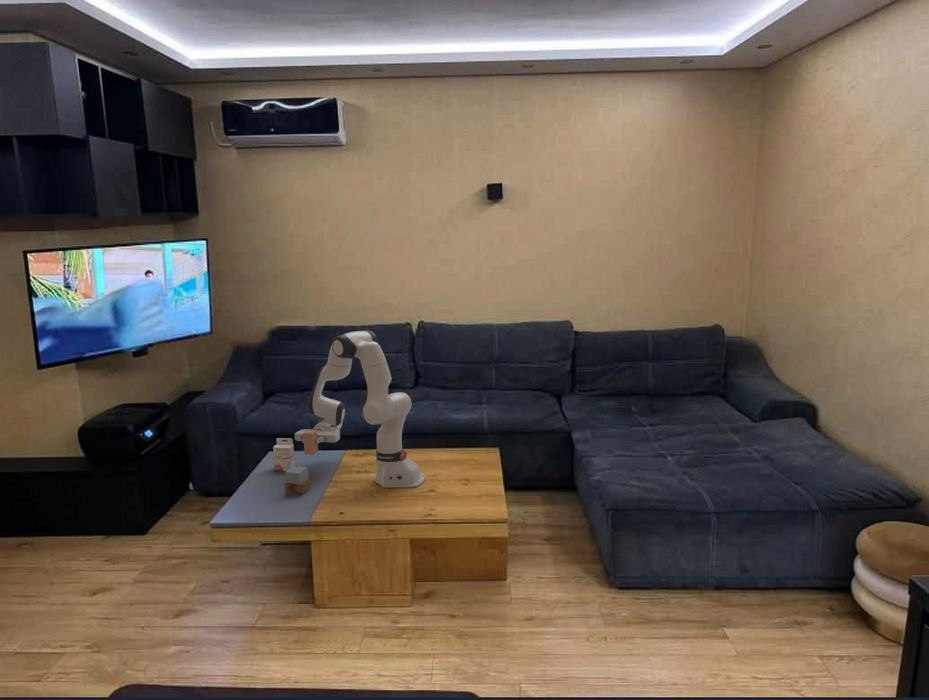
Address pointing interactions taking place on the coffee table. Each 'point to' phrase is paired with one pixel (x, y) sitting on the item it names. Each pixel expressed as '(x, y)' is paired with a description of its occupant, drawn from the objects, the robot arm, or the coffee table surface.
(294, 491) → the tower base
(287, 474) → the tower top
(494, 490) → the coffee table surface
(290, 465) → the ink cartridge box
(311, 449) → the terracotta block
